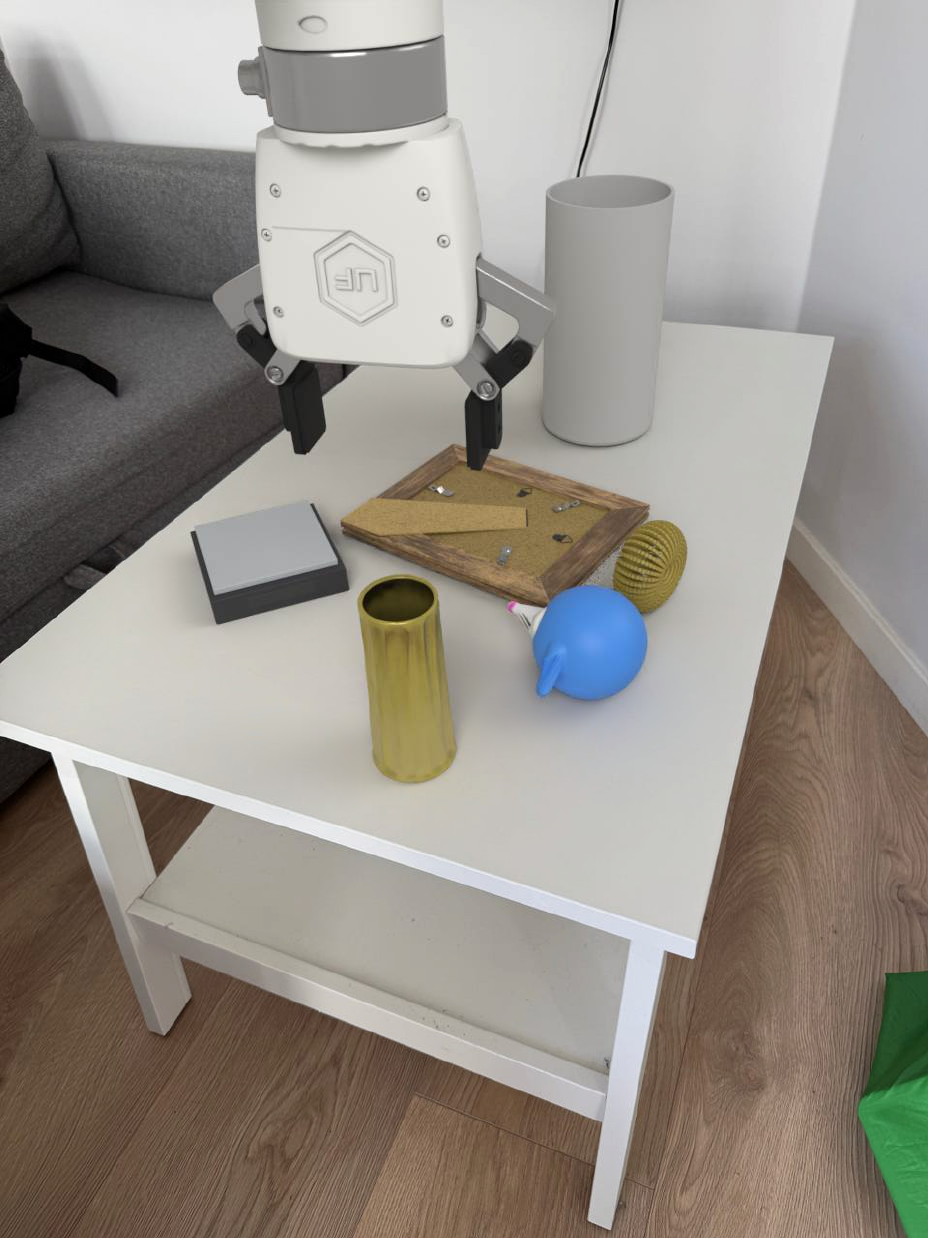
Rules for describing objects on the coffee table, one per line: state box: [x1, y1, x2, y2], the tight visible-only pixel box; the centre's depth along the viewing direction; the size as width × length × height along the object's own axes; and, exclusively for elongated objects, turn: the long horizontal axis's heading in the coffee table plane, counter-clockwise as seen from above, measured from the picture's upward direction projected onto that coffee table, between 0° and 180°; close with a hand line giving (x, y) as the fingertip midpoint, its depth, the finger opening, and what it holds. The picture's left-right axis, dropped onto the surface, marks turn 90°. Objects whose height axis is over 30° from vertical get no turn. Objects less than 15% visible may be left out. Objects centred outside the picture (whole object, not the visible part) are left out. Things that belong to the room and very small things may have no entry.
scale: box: [189, 499, 350, 625], centre depth 84 cm, size 12×12×3 cm
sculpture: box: [612, 519, 688, 614], centre depth 77 cm, size 8×4×8 cm, turn 140°
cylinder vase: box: [542, 174, 676, 447], centre depth 98 cm, size 12×12×25 cm
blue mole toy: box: [507, 584, 649, 701], centre depth 70 cm, size 12×12×8 cm
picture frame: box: [340, 443, 651, 608], centre depth 89 cm, size 19×2×24 cm
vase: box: [357, 573, 457, 783], centre depth 62 cm, size 6×6×14 cm
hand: (394, 450), depth 50 cm, fingers open, 9 cm apart
